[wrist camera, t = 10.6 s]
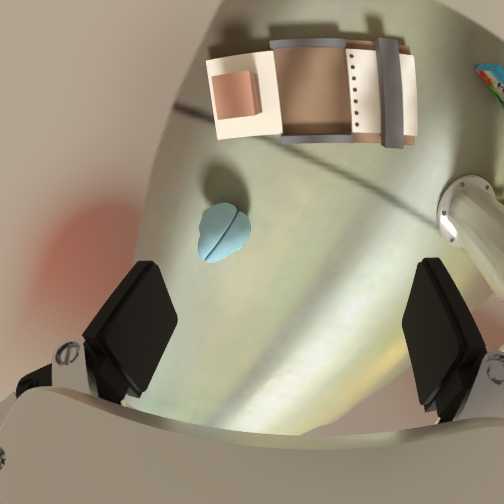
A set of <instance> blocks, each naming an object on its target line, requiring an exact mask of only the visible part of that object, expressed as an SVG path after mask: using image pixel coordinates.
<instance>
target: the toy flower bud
mask: <svg viewBox="0 0 504 504" xmlns="http://www.w3.org/2000/svg"><path fill="white" fill-rule="evenodd" d="M236 212H237V208H236V207H235V206H234V205H232V204H230V203H218V204H215V205H213V206H211V207H210V208H209V209H208V210H207V211H206V212H205V214H204V216H203V217H202V219H201V222H200V225H199V231H200V238H199V242H198V253H199V256H200V257H201V259H205V261H206V262H208V263H214V262H218V261H220V260H222V259H224V258H225V257H227V256H228V255H230V254H231V253H234V252H236V251H238V250H239V249H241V248H242V246H243V245H244V244H245V243H246V241H247V239H248V238H249V235H250V232H251V224H250V221H249V218H248V217H247V216H246V215H245V214H244V213H243V212H240V211H239V212H237V213H236Z"/></svg>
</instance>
